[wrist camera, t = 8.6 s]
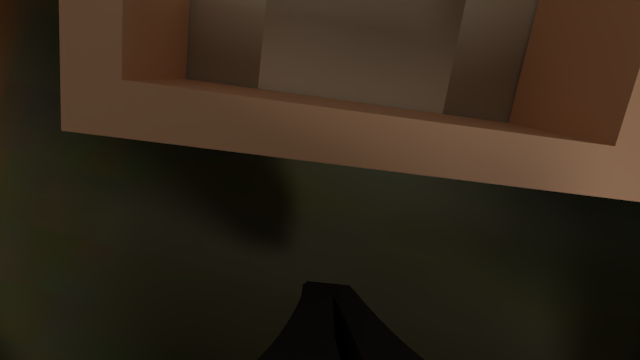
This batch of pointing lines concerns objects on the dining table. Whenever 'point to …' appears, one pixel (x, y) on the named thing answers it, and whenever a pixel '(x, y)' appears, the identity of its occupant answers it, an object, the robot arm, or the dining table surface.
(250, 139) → the light brown open box
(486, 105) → the board
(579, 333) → the dining table surface
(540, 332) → the dining table surface
